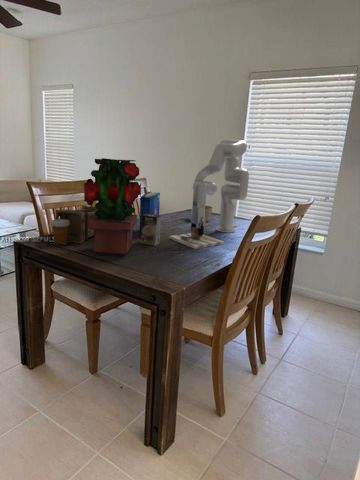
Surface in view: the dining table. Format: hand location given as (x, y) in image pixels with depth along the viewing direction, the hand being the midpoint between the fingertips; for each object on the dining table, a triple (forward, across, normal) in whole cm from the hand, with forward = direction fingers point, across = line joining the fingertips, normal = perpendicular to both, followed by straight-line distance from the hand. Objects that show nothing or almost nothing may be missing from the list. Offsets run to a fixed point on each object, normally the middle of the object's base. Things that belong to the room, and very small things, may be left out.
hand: (196, 233), depth 193 cm
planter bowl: (+6, -55, +31) cm, 63 cm away
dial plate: (+5, 0, 0) cm, 5 cm away
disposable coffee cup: (+5, -10, -75) cm, 75 cm away
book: (+5, -23, -22) cm, 32 cm away
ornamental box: (+5, -24, -60) cm, 64 cm away
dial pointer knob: (+3, 0, -3) cm, 4 cm away
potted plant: (+5, +11, -51) cm, 52 cm away
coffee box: (+5, -1, -28) cm, 29 cm away
